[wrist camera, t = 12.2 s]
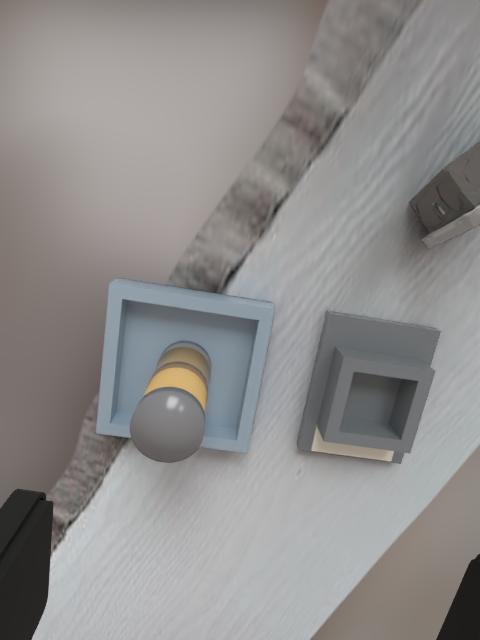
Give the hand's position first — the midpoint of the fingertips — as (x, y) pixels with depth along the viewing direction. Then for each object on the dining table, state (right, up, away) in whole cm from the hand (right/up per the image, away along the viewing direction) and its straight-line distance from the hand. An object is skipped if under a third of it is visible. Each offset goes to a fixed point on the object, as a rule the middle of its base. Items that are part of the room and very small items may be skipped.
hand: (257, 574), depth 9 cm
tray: (-5, +2, +24) cm, 25 cm away
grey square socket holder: (+10, 0, +25) cm, 27 cm away
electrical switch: (+16, +16, +22) cm, 31 cm away
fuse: (-5, +2, +24) cm, 24 cm away
